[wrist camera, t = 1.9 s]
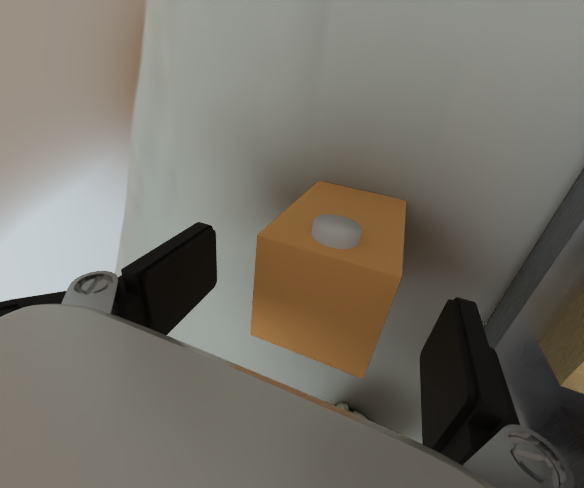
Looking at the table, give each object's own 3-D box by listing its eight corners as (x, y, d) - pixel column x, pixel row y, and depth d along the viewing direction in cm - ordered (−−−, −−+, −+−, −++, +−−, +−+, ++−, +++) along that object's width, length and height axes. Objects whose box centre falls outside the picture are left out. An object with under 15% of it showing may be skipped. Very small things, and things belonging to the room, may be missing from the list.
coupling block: (379, 281, 18) (360, 386, 12) (305, 258, 20) (249, 342, 13) (409, 191, 15) (406, 264, 9) (320, 172, 17) (258, 222, 10)
